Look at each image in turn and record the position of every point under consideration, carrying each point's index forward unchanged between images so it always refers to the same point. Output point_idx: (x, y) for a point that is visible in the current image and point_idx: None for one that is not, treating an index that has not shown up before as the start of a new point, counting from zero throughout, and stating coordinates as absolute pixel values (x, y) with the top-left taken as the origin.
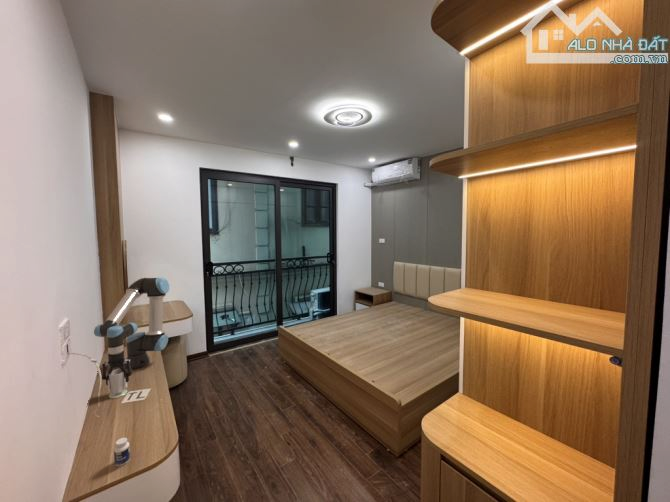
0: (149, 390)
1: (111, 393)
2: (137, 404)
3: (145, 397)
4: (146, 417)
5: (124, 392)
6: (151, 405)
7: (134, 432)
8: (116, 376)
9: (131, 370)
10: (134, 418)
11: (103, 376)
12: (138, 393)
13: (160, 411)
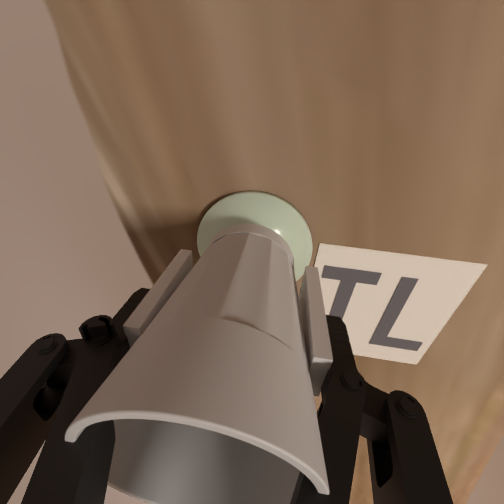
0: (466, 289)
1: (204, 232)
2: (375, 383)
3: (422, 351)
4: None
5: (294, 259)
6: (436, 412)
7: (362, 477)
8: (229, 482)
9: (439, 489)
10: (362, 440)
11: (47, 416)
12: (387, 295)
13: (460, 450)
